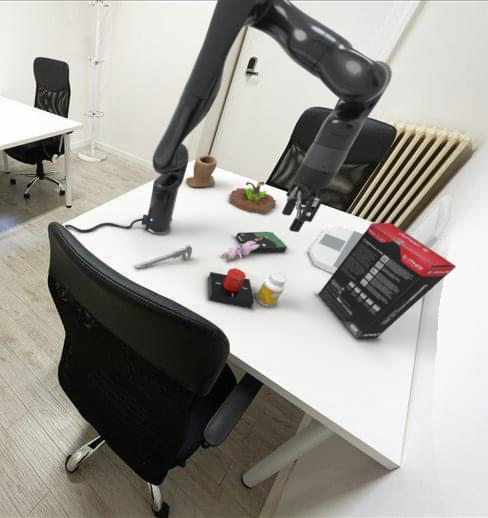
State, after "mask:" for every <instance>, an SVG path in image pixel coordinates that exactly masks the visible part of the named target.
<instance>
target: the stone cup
mask: <svg viewBox="0 0 488 518" xmlns="http://www.w3.org/2000/svg"><path fill="white" fill-rule="evenodd" d="M217 161H218V160H217V158H216V157H214V156H212V155H210V154H209V155H208V154H203V155H201V156H197V158H196V159H195V161H194V164H193V176H189V177H186V179H185V182H186V183H187V184H188V185H189V186H190V187H193V188H204V187H209V186H211V187H212V186H215V185H216V181H215V179H214V176H213V175H212V174H213V173H214V172H215V170H216V168H217V164H218V163H217Z"/></svg>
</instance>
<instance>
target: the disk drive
mask: <svg viewBox="0 0 488 518" xmlns="http://www.w3.org/2000/svg"><path fill="white" fill-rule="evenodd" d="M235 239H236V240H237V242H238V243H239V244H245V243H246V242H248V241H254V242H256V244H257V245H260V246H259V247H258V248H256V249H255V250H252V251H250V253H249V254H271V253H272V254H273V253H275V254H276V253H286V251H287V249H288V246H287V245H286V244H285V243H284V242H283V240H281V239H280V238H279V237H278V236H277V235H276V234H275V233H274V232H271V231H253V232H248V231H247V232H237V233H236V236H235ZM256 244H254V245H256ZM251 246H252V245H251Z"/></svg>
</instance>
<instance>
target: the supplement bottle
mask: <svg viewBox="0 0 488 518" xmlns="http://www.w3.org/2000/svg"><path fill="white" fill-rule="evenodd" d="M286 282H287V277H286V276H285V275H284V274H282V273H281V272H272V273H271V275H269V277H266V278H265V279H264V280H263V283H262V285H261V287H260V288H259V290H258V291H257V293H256V296H255V298H256V300H257V301H258V303H260V304H261V305H263V306H265V307H273V306H274V305H276V303H277V301H278V300H279V298H280V297H281V295H282V293H283V292H284V290H285V288H286V285H285V284H286Z"/></svg>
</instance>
